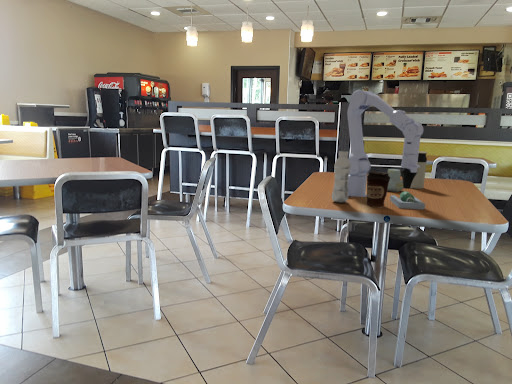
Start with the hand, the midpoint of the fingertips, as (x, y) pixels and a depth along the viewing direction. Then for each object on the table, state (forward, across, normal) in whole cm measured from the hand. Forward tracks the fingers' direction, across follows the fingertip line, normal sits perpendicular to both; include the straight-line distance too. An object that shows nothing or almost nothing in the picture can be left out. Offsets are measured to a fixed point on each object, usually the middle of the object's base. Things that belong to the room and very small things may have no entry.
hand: (406, 188), depth 157 cm
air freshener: (+7, +30, -2) cm, 31 cm away
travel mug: (+7, +43, -16) cm, 46 cm away
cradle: (+6, -1, 0) cm, 7 cm away
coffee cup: (+7, -8, +13) cm, 16 cm away
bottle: (+4, +3, -1) cm, 5 cm away
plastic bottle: (+7, -4, +26) cm, 27 cm away
